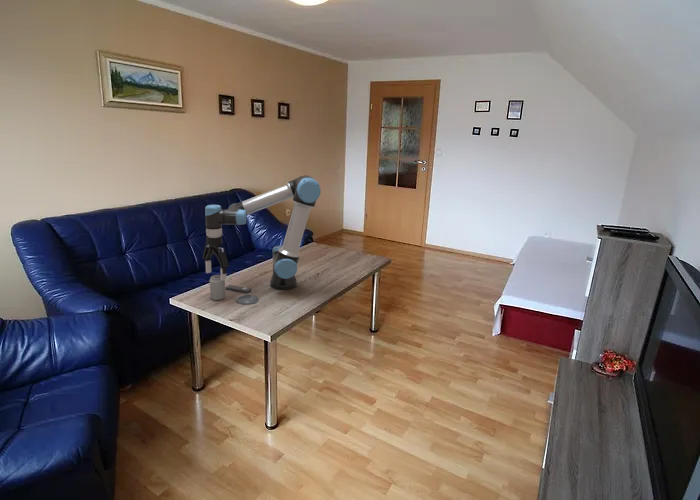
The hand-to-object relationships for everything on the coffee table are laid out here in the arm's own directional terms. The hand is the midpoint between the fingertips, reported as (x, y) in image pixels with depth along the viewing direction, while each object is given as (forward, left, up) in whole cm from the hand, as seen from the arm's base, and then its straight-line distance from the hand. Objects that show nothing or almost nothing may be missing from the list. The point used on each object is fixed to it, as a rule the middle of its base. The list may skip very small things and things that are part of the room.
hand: (216, 276), depth 206 cm
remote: (-14, -1, -13) cm, 19 cm away
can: (0, 0, -13) cm, 13 cm away
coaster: (-9, +13, -12) cm, 20 cm away
